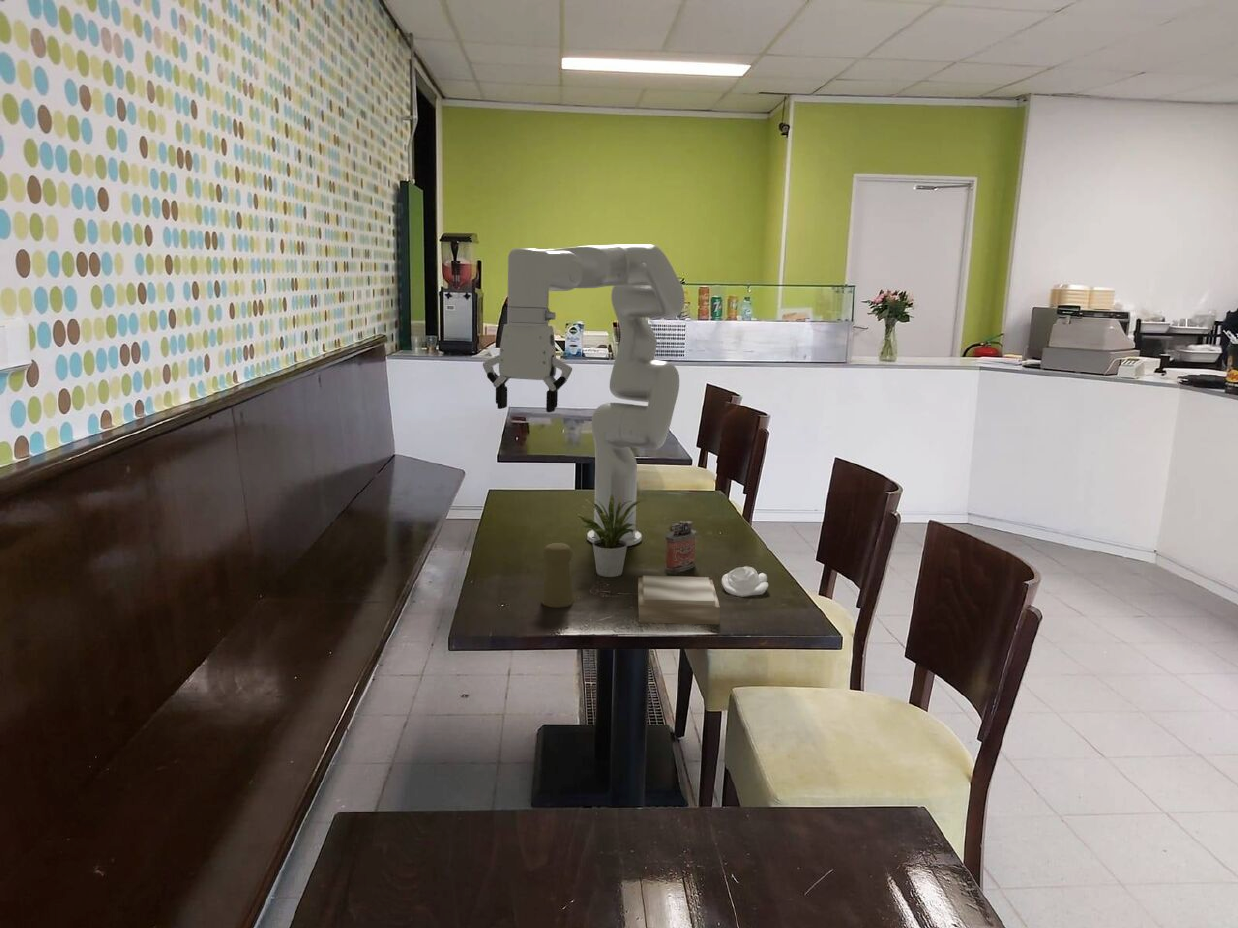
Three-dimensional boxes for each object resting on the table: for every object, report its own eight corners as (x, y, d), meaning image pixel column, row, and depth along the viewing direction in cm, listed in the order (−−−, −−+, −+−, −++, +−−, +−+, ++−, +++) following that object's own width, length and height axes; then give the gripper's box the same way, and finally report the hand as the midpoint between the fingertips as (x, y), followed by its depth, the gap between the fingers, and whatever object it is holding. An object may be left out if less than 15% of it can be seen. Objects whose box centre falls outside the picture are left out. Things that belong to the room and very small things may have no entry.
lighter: (686, 562, 184) (688, 516, 182) (698, 565, 182) (700, 520, 180) (661, 570, 178) (662, 523, 176) (673, 574, 176) (675, 527, 174)
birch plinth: (638, 593, 164) (638, 574, 164) (711, 595, 164) (712, 575, 164) (638, 622, 151) (639, 600, 150) (718, 624, 151) (720, 602, 150)
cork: (569, 608, 156) (569, 550, 154) (536, 605, 157) (537, 548, 155) (577, 597, 162) (578, 541, 160) (546, 594, 163) (546, 538, 161)
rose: (780, 568, 169) (753, 580, 161) (779, 589, 169) (752, 602, 162) (738, 556, 175) (710, 567, 168) (736, 577, 176) (709, 589, 169)
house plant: (622, 556, 187) (624, 483, 183) (660, 574, 175) (663, 497, 172) (565, 566, 179) (566, 490, 175) (601, 587, 168) (603, 505, 164)
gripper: (578, 319, 160) (576, 410, 164) (491, 315, 164) (491, 404, 168) (566, 319, 153) (564, 415, 156) (476, 315, 157) (475, 409, 160)
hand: (526, 409), depth 162 cm, fingers open, 9 cm apart
